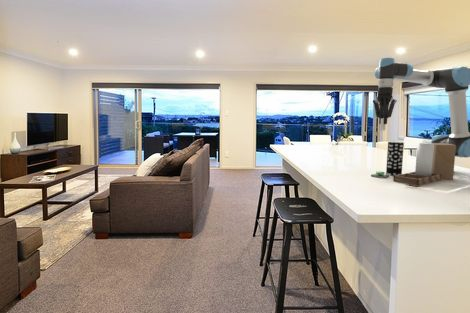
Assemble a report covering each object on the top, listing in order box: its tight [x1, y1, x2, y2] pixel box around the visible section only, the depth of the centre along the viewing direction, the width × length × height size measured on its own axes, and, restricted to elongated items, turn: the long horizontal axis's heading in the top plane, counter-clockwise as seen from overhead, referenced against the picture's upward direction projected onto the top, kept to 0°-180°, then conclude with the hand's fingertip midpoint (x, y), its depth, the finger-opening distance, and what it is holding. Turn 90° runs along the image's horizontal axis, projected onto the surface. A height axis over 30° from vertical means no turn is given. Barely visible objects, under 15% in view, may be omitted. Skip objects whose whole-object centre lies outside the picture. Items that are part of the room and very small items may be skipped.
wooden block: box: [432, 143, 456, 181], centre depth 197 cm, size 10×10×20 cm
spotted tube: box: [385, 141, 405, 177], centre depth 205 cm, size 8×8×20 cm
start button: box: [375, 170, 386, 175], centre depth 199 cm, size 4×4×3 cm
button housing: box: [370, 173, 390, 179], centre depth 199 cm, size 7×7×2 cm
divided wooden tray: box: [392, 171, 442, 188], centre depth 189 cm, size 26×13×4 cm, turn 127°
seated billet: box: [414, 142, 434, 176], centre depth 191 cm, size 8×8×20 cm
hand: (382, 130), depth 196 cm, fingers closed
